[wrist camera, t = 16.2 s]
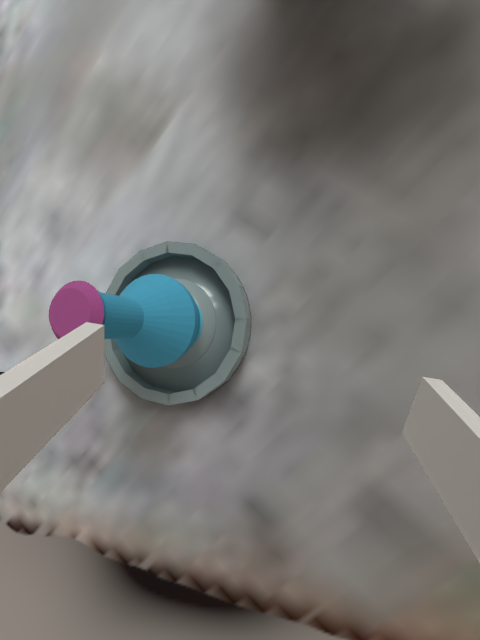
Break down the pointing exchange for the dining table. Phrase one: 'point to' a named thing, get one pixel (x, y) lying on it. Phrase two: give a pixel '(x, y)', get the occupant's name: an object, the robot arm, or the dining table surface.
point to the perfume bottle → (133, 317)
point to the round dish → (217, 325)
